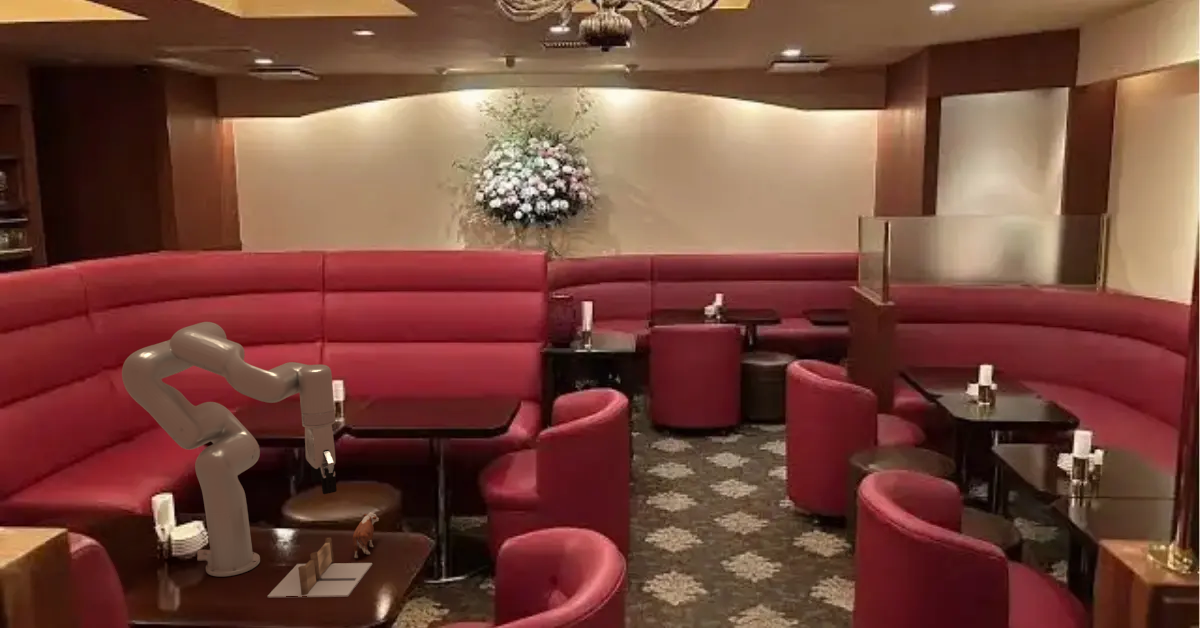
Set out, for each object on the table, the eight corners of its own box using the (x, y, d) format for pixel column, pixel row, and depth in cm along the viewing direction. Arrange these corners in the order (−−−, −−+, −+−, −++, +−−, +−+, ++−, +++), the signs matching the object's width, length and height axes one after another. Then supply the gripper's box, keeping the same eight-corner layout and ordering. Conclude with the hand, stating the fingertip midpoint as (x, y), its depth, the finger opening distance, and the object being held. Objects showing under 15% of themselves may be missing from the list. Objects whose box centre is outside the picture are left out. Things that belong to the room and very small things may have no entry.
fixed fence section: (300, 595, 216) (297, 568, 215) (311, 582, 223) (308, 556, 222) (306, 595, 216) (303, 568, 215) (317, 582, 223) (314, 556, 221)
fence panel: (318, 579, 223) (315, 554, 222) (311, 579, 223) (309, 555, 222) (335, 560, 234) (332, 536, 233) (328, 560, 234) (326, 536, 233)
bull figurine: (383, 538, 248) (380, 509, 246) (366, 560, 234) (362, 529, 233) (367, 539, 248) (364, 509, 247) (348, 561, 235) (345, 529, 233)
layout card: (267, 597, 217) (267, 595, 217) (297, 565, 234) (297, 563, 234) (348, 596, 215) (347, 594, 215) (372, 564, 232) (372, 562, 232)
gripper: (293, 411, 229) (299, 479, 232) (311, 429, 214) (317, 501, 217) (324, 406, 232) (330, 473, 235) (344, 423, 218) (350, 494, 221)
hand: (324, 486), depth 226 cm, fingers open, 9 cm apart
